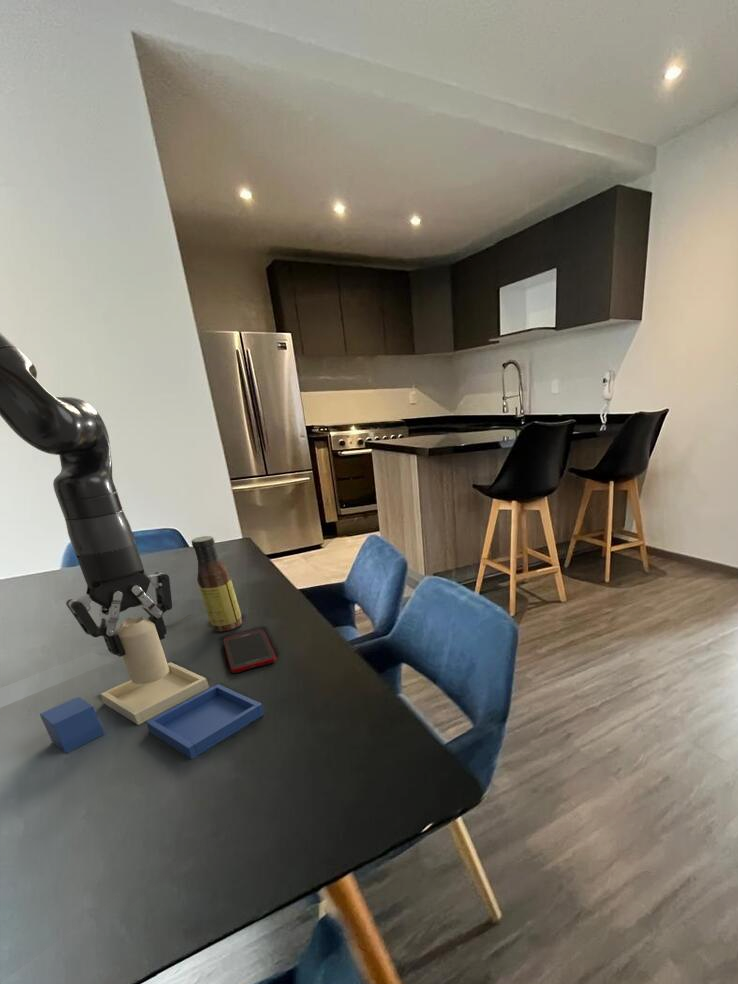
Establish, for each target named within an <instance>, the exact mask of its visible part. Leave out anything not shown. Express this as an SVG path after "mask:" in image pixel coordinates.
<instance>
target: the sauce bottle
mask: <svg viewBox="0 0 738 984" xmlns="http://www.w3.org/2000/svg"><path fill="white" fill-rule="evenodd" d="M191 546H192V548H193V549H194V552H195V555H196V560H197V577H196V581H197V585H198V587H199V591H200V593H201V597H202V600H203V603H204V607H205V610H206V614H207V616H208V619H209V622H210V625H211V626H212V628H213V630H214V631H216V632H229V631H232V630H234V629H237V628H239V627H240V626H241V625H242V624H243V618H242V612H241V609H240V605H239V602H238V598H237V596H236V591H235V588H234V585H233V582H232V578H231V576H230V573H229V569H228V567H227V565H226V564H225V563H224V562H223V561H222V560H221V559H220V558H219V555H218V553H217V550H216V547H215V546H216V545H215V539H214V537H213V536H212V535H203V536H199V537H195V538H193V539H191Z"/></svg>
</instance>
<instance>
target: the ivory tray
mask: <svg viewBox="0 0 738 984" xmlns="http://www.w3.org/2000/svg"><path fill="white" fill-rule="evenodd" d="M167 664H168V667H169V672H168V674H167V675H166V676H164V677H163V678H161V679H159V680H157V681H154V682H151V683H147V684H134V683H133V682H132V681H131V679H130V680H127V681H126V682H123V683H121V684H118V685H116V686H115V687H112V688H110V689H107V690H106V691H103V692H101V693H100V696H101V699H102V702H103V704H104V705H105V706H107V707H109V708H110V709H112V710H114V711H115V712H116V713H119V714H120V715H122V716H123V717H125V718H126V719H127V720H129V721H131V722H132V723H134V724H136V725H137V726H140V725H142V724H143V723H146V721H148V720H150V719H152V718H154V717H156V716H158V715H160V714H162V713H164V712H165V711H167V710H169V709H171V708H173V707H175V706H177V705H179V704H181V703H183V702H184V701H186V700H188V699H190V698H192V697H194V696H196V695H198V694H200V693H202V692H204V691H205V690H207V689H209V688H210V686H209V683H208V680H207V678H206V677H205V676H202V675H200V674H197V673H195V672H193V671H191V670H188V669H187V668H185V667H182V666H180V665H178V664H175V663H173V662H167Z"/></svg>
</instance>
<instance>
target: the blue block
mask: <svg viewBox="0 0 738 984" xmlns="http://www.w3.org/2000/svg"><path fill="white" fill-rule="evenodd" d="M39 716H40V719H41V720H42V723H43V725H44V727H45V729H46V732H47V734H48V736H49V738H50V740H51V742H52V743H53V744H54V745H55V746H56V747H58V748H59V749H60V750H61V751H62V752H63V753H65V754H68V753H70V752H72V751H74V750H76V749H78V748H80V747H82V746H84V745H86V744H88V743H91V742H92V741H94V740H96V739H98V738H100V737H101V736H103V735H105V731H104V728H103V727H102V724H101V722H100V719H99V717H98V714H97V712H96V709H95V707H94V705H92V704H91V703H89V702H88V701H86V700H85V699H83V698H82V697H81V696H77V697H75V698H72V699H70V700H68V701H65V702H63V703H61V704H59V705H56V706H54V707H52V708H50V709H47V710H45V711H42V712H41V713H39Z"/></svg>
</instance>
